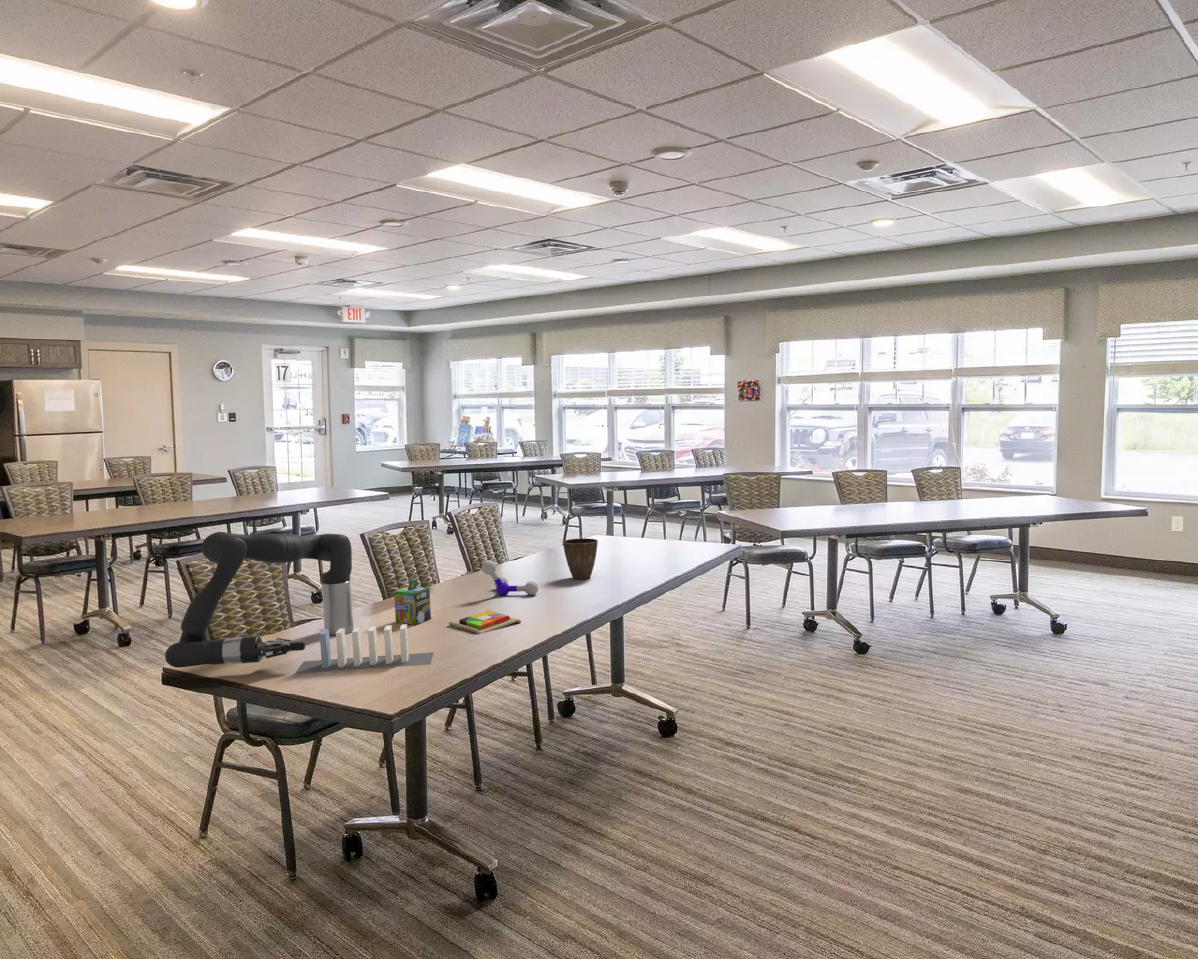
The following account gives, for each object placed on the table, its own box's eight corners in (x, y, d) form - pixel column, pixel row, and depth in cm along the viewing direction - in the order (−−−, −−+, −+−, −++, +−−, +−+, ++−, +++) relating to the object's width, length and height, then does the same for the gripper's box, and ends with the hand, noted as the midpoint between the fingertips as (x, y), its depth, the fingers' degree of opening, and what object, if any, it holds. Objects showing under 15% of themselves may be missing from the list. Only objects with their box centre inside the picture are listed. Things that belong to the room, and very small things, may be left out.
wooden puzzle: (447, 627, 289) (446, 617, 288) (491, 616, 302) (491, 606, 301) (477, 636, 276) (477, 625, 276) (522, 624, 289) (522, 614, 289)
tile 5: (385, 663, 246) (383, 629, 245) (388, 658, 251) (386, 625, 250) (391, 663, 246) (389, 629, 245) (393, 658, 251) (391, 625, 250)
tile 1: (322, 668, 244) (319, 634, 243) (325, 663, 249) (323, 629, 248) (327, 667, 244) (325, 633, 243) (331, 662, 249) (328, 629, 248)
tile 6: (401, 662, 246) (399, 628, 245) (403, 657, 251) (401, 624, 250) (407, 662, 246) (405, 628, 246) (408, 657, 251) (407, 624, 251)
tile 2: (338, 667, 244) (335, 633, 243) (341, 661, 249) (339, 628, 248) (343, 666, 244) (341, 632, 244) (346, 661, 249) (344, 628, 248)
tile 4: (369, 664, 245) (367, 631, 244) (372, 659, 250) (370, 626, 249) (375, 664, 245) (373, 630, 245) (377, 659, 250) (375, 626, 250)
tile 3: (354, 665, 245) (351, 632, 244) (356, 660, 250) (354, 627, 249) (359, 665, 245) (357, 631, 244) (362, 660, 250) (360, 627, 249)
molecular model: (533, 600, 323) (532, 561, 322) (481, 600, 326) (479, 561, 325) (546, 587, 344) (544, 551, 343) (496, 588, 347) (495, 552, 346)
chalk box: (410, 617, 303) (408, 576, 301) (432, 619, 299) (429, 577, 298) (394, 623, 294) (392, 581, 293) (416, 625, 290) (414, 583, 289)
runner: (294, 675, 239) (294, 673, 239) (303, 662, 251) (303, 661, 251) (430, 665, 244) (430, 664, 244) (433, 653, 256) (433, 652, 256)
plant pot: (561, 575, 367) (560, 539, 365) (595, 573, 369) (594, 537, 368) (566, 582, 352) (565, 544, 351) (602, 580, 355) (600, 542, 353)
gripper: (250, 656, 249) (310, 652, 251) (236, 669, 236) (300, 665, 238) (248, 631, 249) (309, 627, 251) (234, 643, 236) (298, 638, 238)
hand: (304, 645), depth 244 cm, fingers closed
